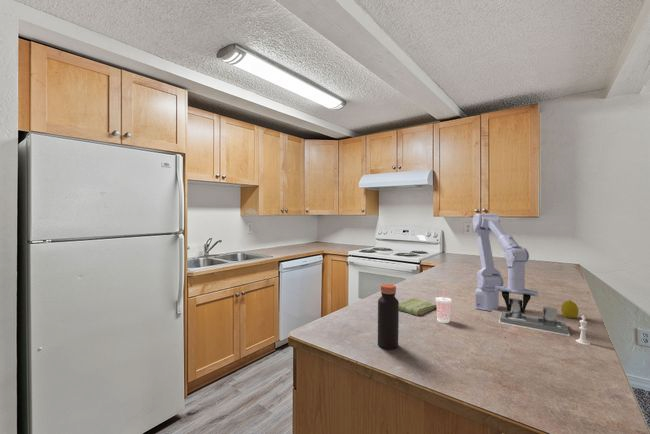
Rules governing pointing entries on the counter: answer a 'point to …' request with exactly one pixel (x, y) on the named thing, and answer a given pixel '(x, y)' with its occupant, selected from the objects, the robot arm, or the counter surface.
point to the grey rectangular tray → (534, 323)
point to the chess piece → (583, 331)
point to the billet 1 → (515, 308)
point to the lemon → (569, 309)
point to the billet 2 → (550, 316)
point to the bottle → (388, 317)
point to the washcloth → (416, 306)
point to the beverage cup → (443, 308)
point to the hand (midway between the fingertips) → (515, 311)
